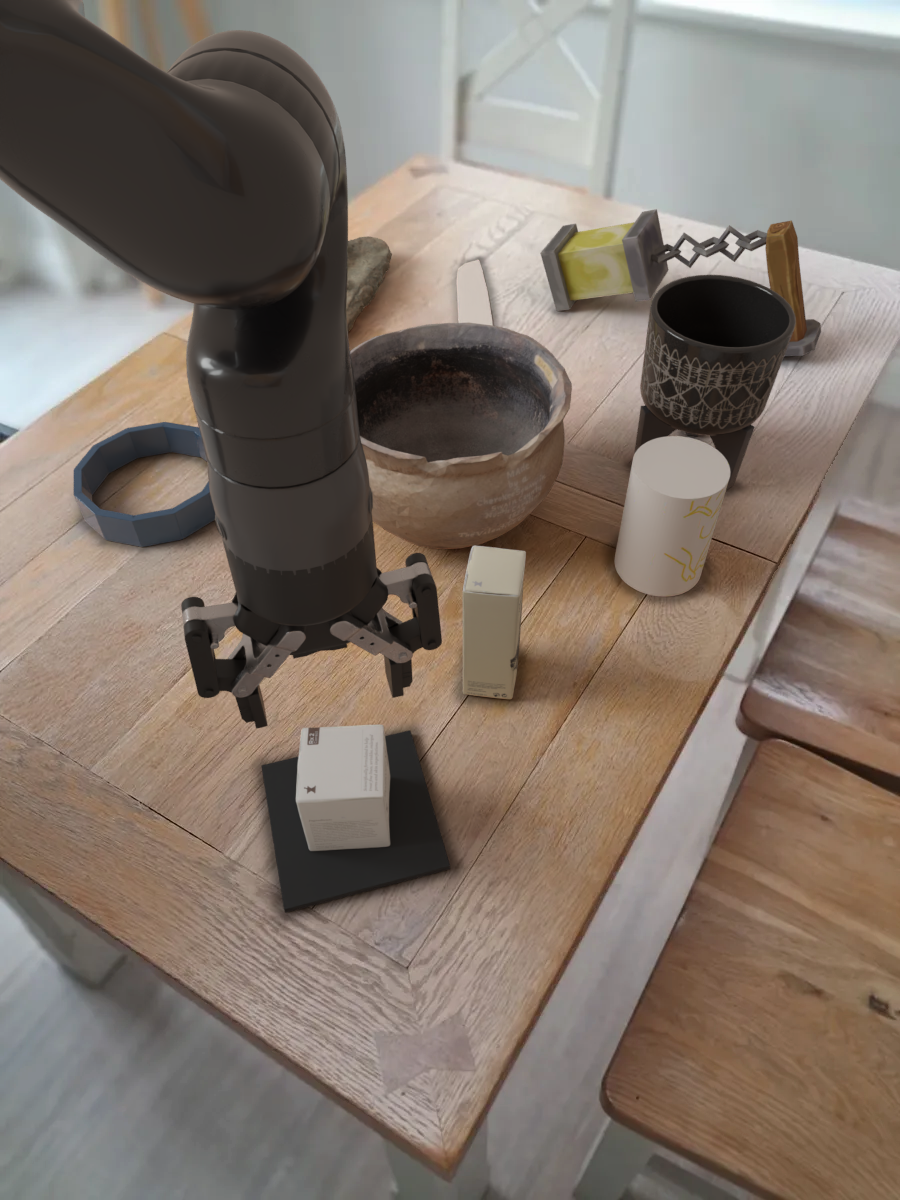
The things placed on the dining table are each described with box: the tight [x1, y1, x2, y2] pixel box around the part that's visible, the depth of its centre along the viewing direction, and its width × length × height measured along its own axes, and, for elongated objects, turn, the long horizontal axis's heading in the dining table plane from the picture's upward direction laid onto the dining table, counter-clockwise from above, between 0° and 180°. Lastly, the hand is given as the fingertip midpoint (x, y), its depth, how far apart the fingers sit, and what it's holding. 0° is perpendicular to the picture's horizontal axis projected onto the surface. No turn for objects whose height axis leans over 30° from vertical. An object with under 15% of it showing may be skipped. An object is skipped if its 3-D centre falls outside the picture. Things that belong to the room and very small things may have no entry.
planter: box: [633, 274, 796, 491], centre depth 88 cm, size 13×13×18 cm
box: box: [461, 545, 527, 700], centre depth 72 cm, size 5×4×13 cm
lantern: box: [540, 208, 822, 357], centre depth 109 cm, size 8×17×30 cm
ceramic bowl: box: [350, 322, 573, 550], centre depth 85 cm, size 22×22×15 cm
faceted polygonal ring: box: [73, 421, 216, 548], centre depth 91 cm, size 15×15×4 cm
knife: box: [456, 259, 494, 326], centre depth 112 cm, size 1×34×5 cm
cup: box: [613, 435, 730, 598], centre depth 81 cm, size 8×8×12 cm
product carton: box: [296, 724, 390, 851], centre depth 65 cm, size 6×6×7 cm
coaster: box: [260, 729, 451, 913], centre depth 68 cm, size 12×12×1 cm
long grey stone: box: [346, 235, 393, 332], centre depth 112 cm, size 35×5×10 cm
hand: (328, 701), depth 57 cm, fingers open, 8 cm apart
